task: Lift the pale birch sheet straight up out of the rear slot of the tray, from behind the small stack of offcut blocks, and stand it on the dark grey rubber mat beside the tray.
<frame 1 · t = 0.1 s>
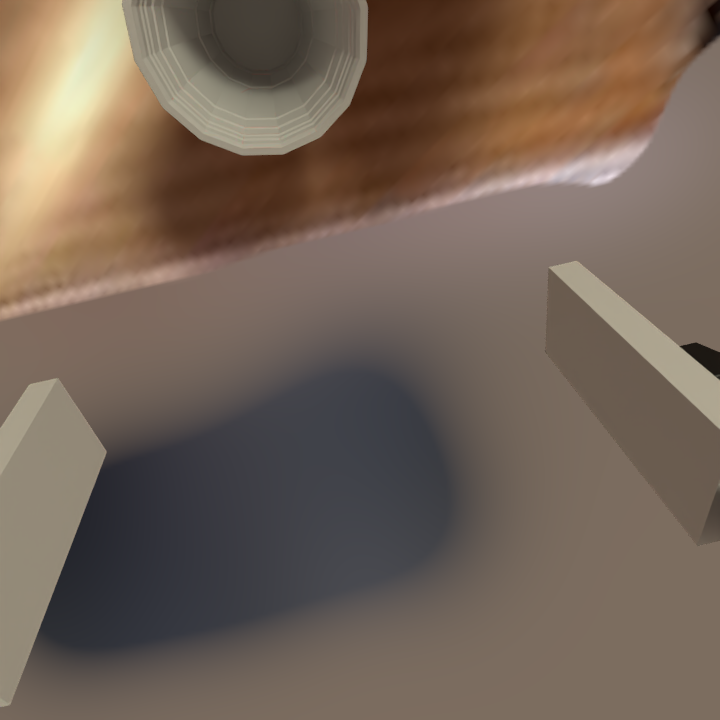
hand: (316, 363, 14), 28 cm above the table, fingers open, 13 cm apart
plastic cup: (258, 26, 33), on the table
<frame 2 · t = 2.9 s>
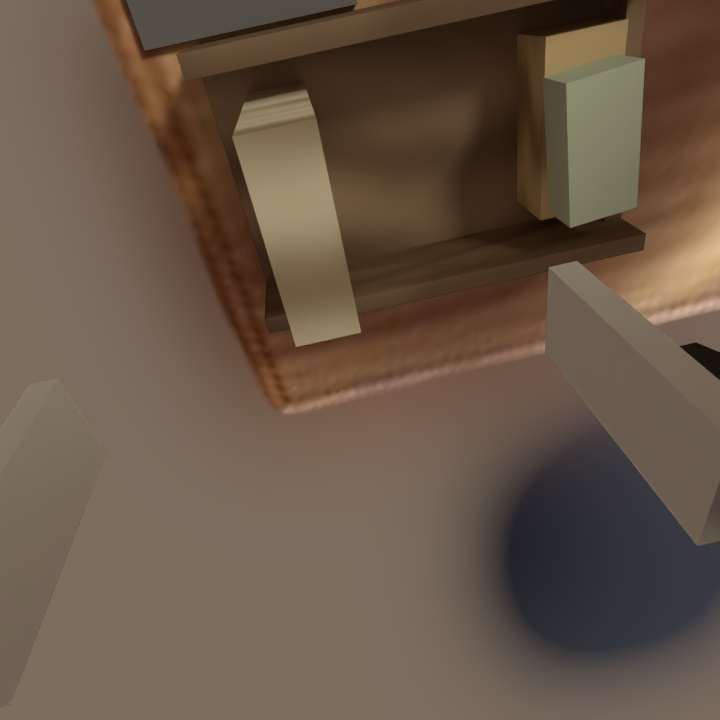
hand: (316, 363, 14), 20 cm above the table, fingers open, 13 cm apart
offcut top: (579, 139, 27), point 5 cm above the table, touching offcut low
tray: (419, 141, 30), on the table
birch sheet: (296, 173, 29), point 1 cm above the table, touching tray
offcut low: (551, 117, 30), point 1 cm above the table, touching offcut top, tray
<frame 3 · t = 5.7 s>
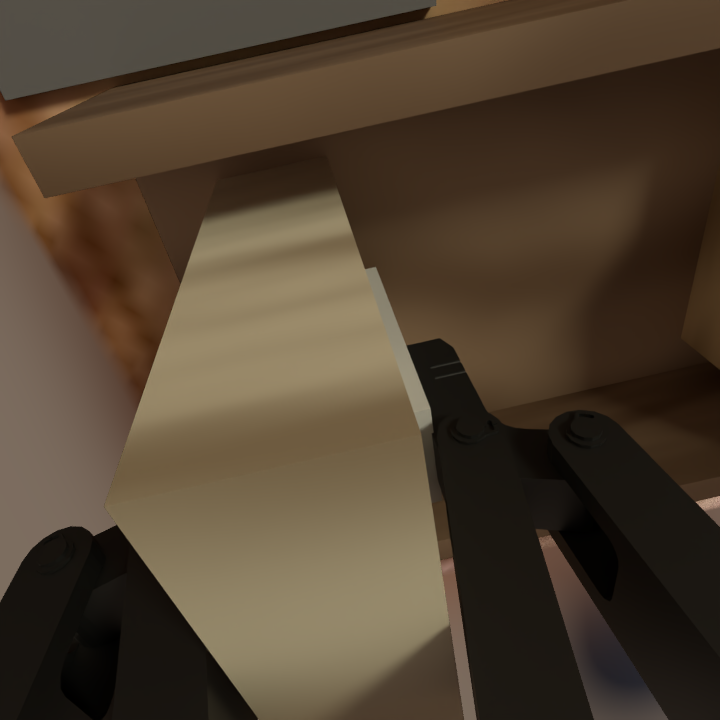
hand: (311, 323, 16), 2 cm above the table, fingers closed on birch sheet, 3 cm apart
tray: (524, 245, 17), on the table
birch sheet: (310, 311, 16), point 1 cm above the table, touching gripper, tray
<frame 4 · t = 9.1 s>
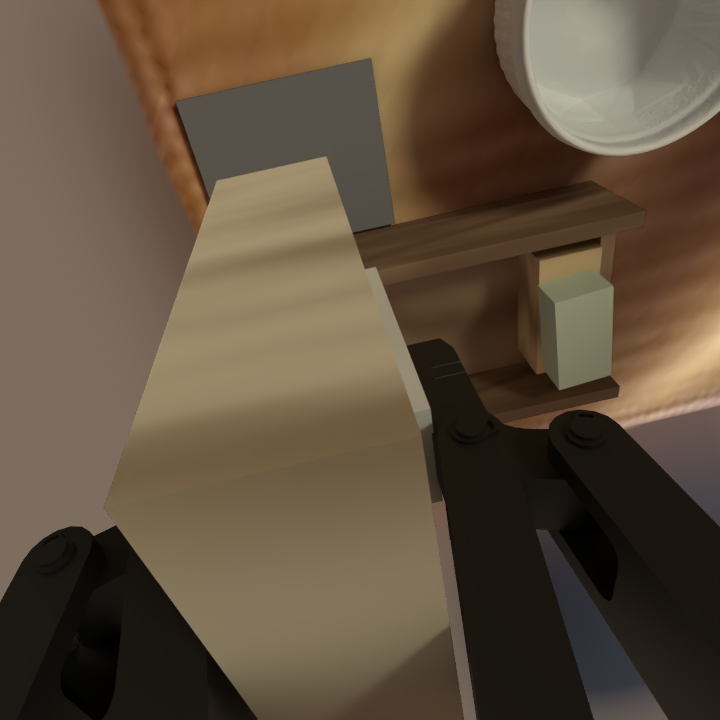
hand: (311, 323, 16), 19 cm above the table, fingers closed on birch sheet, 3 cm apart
offcut top: (566, 321, 35), point 5 cm above the table, touching offcut low
tray: (439, 306, 38), on the table
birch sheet: (310, 311, 16), point 18 cm above the table, touching gripper
offcut low: (544, 291, 37), point 1 cm above the table, touching offcut top, tray
ramekin: (586, 4, 29), on the table
mat: (294, 166, 31), on the table
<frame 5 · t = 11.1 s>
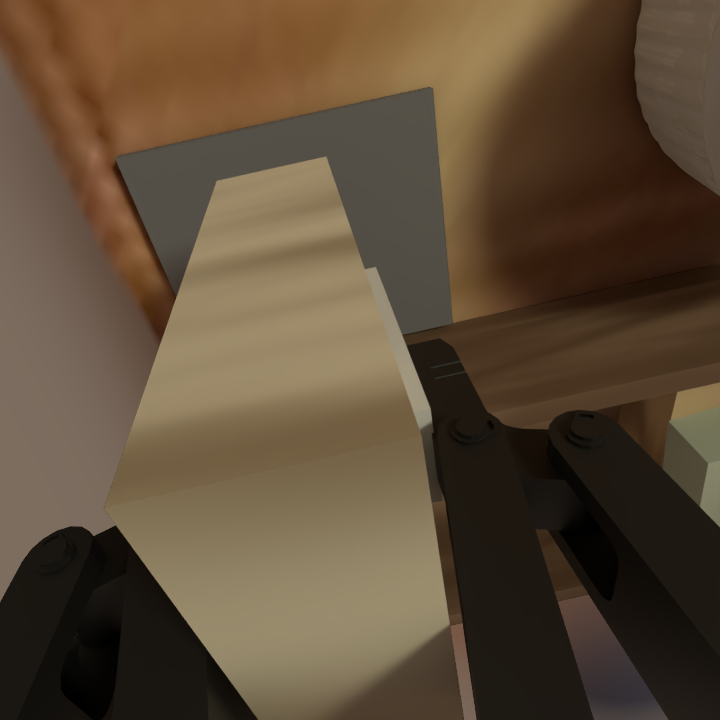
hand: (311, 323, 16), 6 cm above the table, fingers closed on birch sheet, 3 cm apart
offcut top: (700, 463, 24), point 5 cm above the table, touching offcut low
tray: (506, 423, 27), on the table
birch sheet: (310, 312, 16), point 5 cm above the table, touching gripper
offcut low: (656, 407, 26), point 1 cm above the table, touching offcut top, tray
mat: (306, 248, 20), on the table
when the fingers open (2 cm above the table, at t = 12.6 s): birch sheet stays where it is, resting on mat.
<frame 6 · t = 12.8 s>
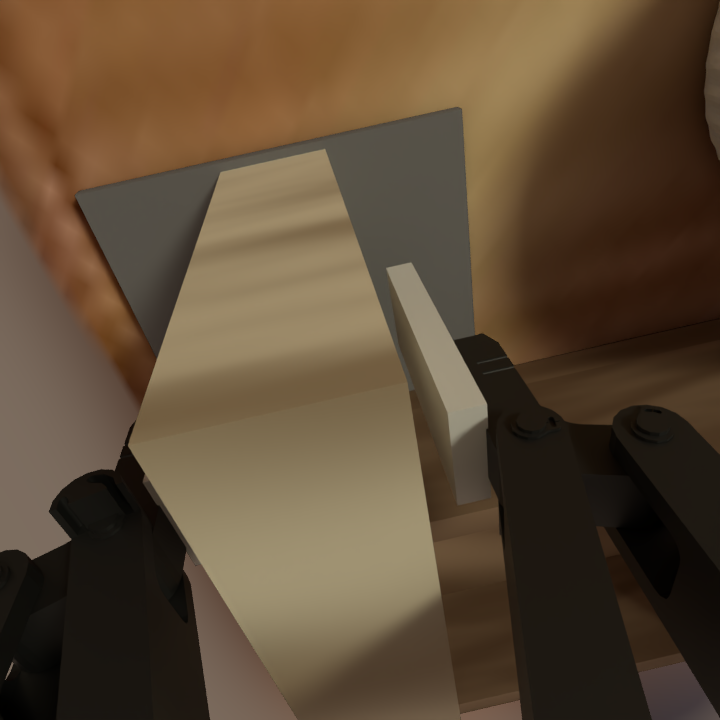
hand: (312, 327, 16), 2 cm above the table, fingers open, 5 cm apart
tray: (532, 478, 24), on the table
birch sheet: (310, 299, 17), resting on mat
mat: (308, 294, 17), on the table
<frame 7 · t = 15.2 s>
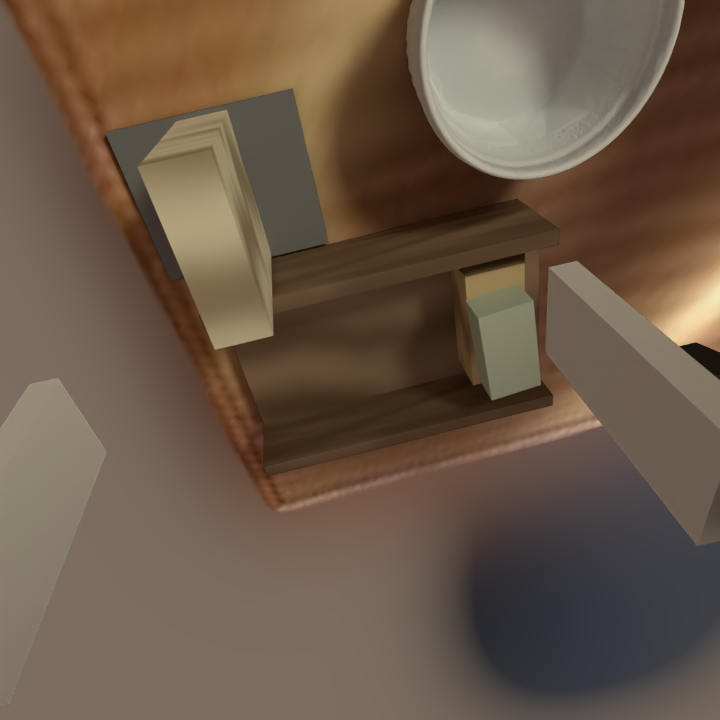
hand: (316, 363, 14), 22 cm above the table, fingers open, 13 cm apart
offcut top: (497, 334, 36), point 5 cm above the table, touching offcut low
tray: (380, 321, 39), on the table
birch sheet: (227, 192, 32), resting on mat
offcut low: (479, 305, 39), point 1 cm above the table, touching offcut top, tray
ramekin: (496, 35, 30), on the table
mat: (227, 191, 32), on the table
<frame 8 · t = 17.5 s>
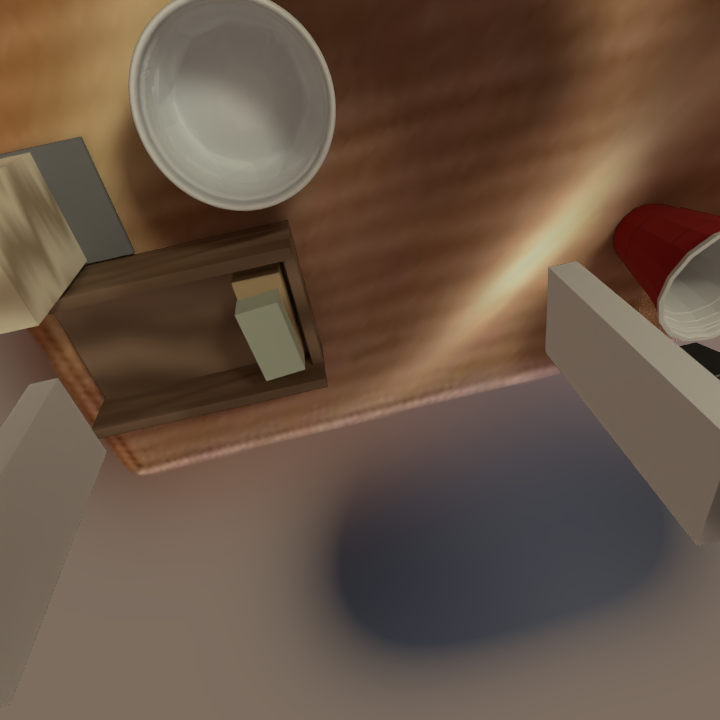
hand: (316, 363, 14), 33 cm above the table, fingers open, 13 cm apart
offcut top: (271, 328, 45), point 5 cm above the table, touching offcut low
tray: (193, 316, 49), on the table
plastic cup: (639, 233, 50), on the table
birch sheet: (42, 214, 41), resting on mat
offcut low: (270, 304, 48), point 1 cm above the table, touching offcut top, tray
ramekin: (241, 96, 39), on the table
mat: (43, 212, 42), on the table
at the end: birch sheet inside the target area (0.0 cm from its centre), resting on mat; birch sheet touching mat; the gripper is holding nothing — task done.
